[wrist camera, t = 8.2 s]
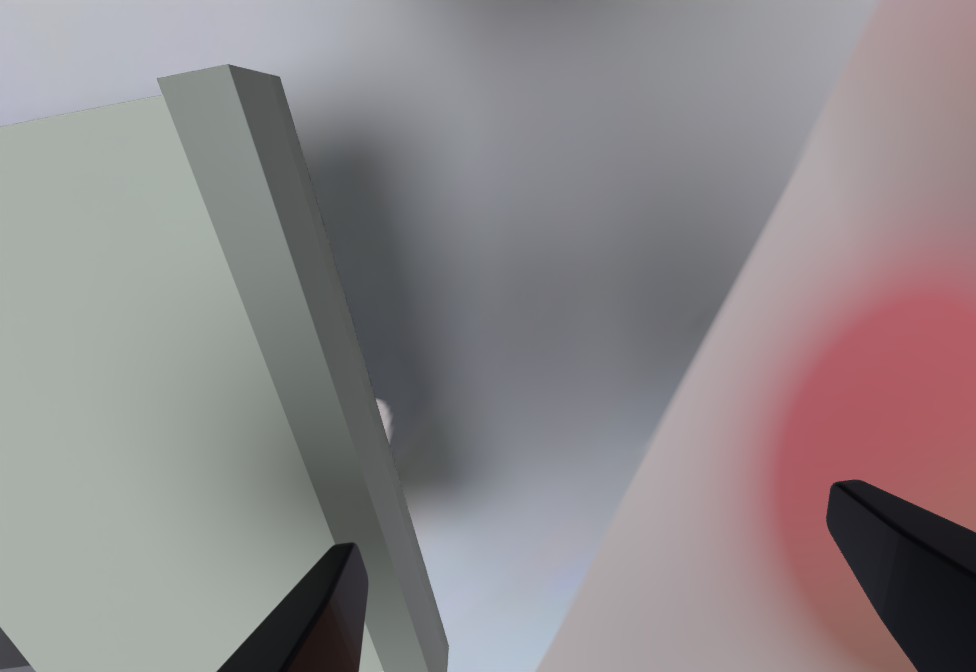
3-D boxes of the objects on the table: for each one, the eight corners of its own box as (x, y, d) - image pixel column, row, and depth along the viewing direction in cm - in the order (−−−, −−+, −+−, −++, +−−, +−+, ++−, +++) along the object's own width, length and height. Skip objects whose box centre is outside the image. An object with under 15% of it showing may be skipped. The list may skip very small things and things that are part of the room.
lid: (279, 76, 10) (227, 64, 8) (448, 645, 16) (443, 718, 14) (-301, 190, 11) (-484, 205, 9) (80, 691, 17) (26, 767, 15)
